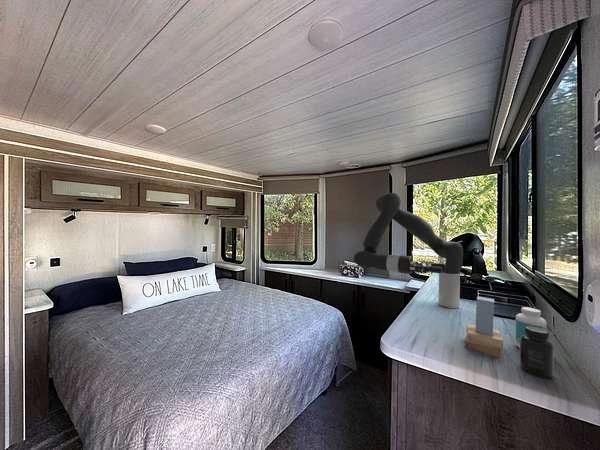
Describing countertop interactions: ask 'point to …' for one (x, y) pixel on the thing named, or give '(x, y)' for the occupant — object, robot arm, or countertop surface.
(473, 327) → the tower top
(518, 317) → the pill bottle
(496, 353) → the tower base
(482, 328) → the pillar
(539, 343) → the supplement bottle
